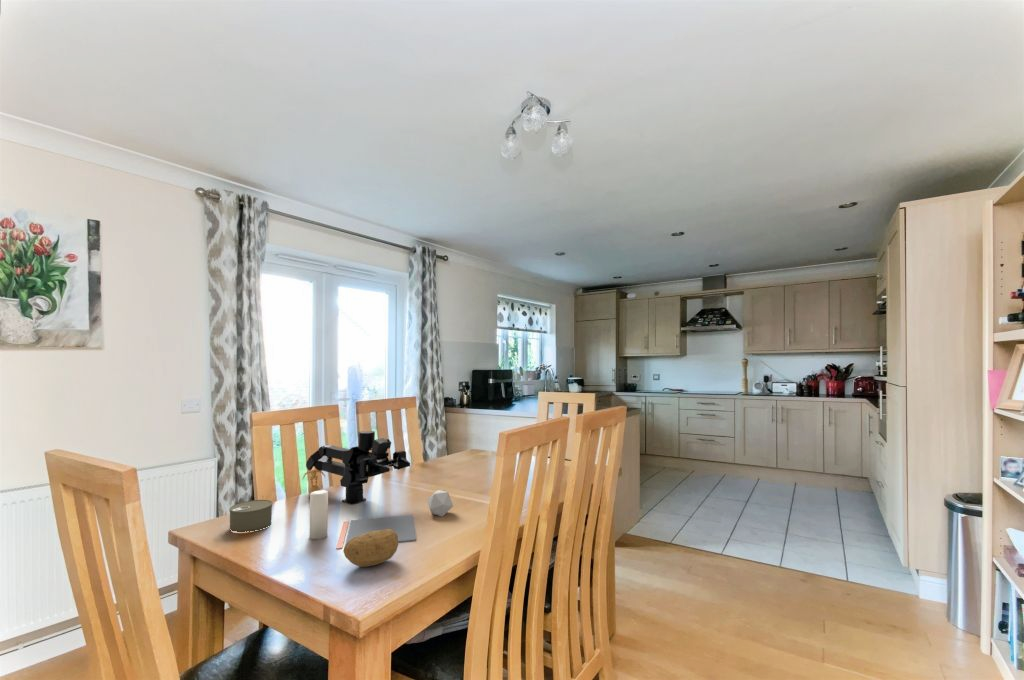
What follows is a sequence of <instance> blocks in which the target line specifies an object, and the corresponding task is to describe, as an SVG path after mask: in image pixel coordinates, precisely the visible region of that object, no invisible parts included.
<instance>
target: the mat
mask: <svg viewBox="0 0 1024 680" xmlns="http://www.w3.org/2000/svg"><path fill="white" fill-rule="evenodd" d="M385 529H391V530H393V531H395V532H396V533H397V536H398V544H399V543H405V542H416V541H417V540H418V539H417V534H416V533H417V532H416V528H415V521H414V515H413V514H406V515H393V516H382V517H371V518H360V519H359V518H358V519H352V520H350V523H349V528H348V530H347V531H348V532H347V536H346V540H345V545H346V544H347V543H348V542H349V541H350V540H351V539H352V538H354V537H357V536H360V535H363V534H365V533H368V532H371V531H379V530H385ZM345 545H344V546H345Z"/></svg>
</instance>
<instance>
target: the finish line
mask: <svg viewBox="0 0 1024 680" xmlns="http://www.w3.org/2000/svg"><path fill="white" fill-rule="evenodd" d="M349 524H350V523H349V520H346V521H345V520H344V521H343V523H342V526H341V529H340V533H339V537H338V539H337V540H338V541H337V544H336V548H335V550H342V549H343V547H344V543H345V539H346V534H347V531H348V526H349Z"/></svg>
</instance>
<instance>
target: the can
mask: <svg viewBox="0 0 1024 680" xmlns="http://www.w3.org/2000/svg"><path fill="white" fill-rule="evenodd" d="M272 510H273V501H271V500H269V499H253V500H247V501H243V502H242V501H241V502H239V503H237V504H236V503H235V504H234V505H231V506H230V507H229V530H230V529H231V530H232V531H237V532H245V531H246V532H247V531H249V532H250V531H255V530H260V529H263V528H266V527H268V526H269V527H270V526H271V525H272V518H273V517H272V515H273V514H272ZM269 527H268V528H269ZM266 529H267V528H266Z"/></svg>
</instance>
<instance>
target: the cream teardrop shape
mask: <svg viewBox="0 0 1024 680" xmlns="http://www.w3.org/2000/svg"><path fill="white" fill-rule="evenodd" d="M309 495H310V496H309V539H310V540H320V539H324V538H326V537H328V532H329V531H328V525H329V523H328V521H329V517H328V516H329V515H328V514H329V491H328V490H324V489H323V490H321V489H320V491H314V492H312V493H310V494H309Z"/></svg>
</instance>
